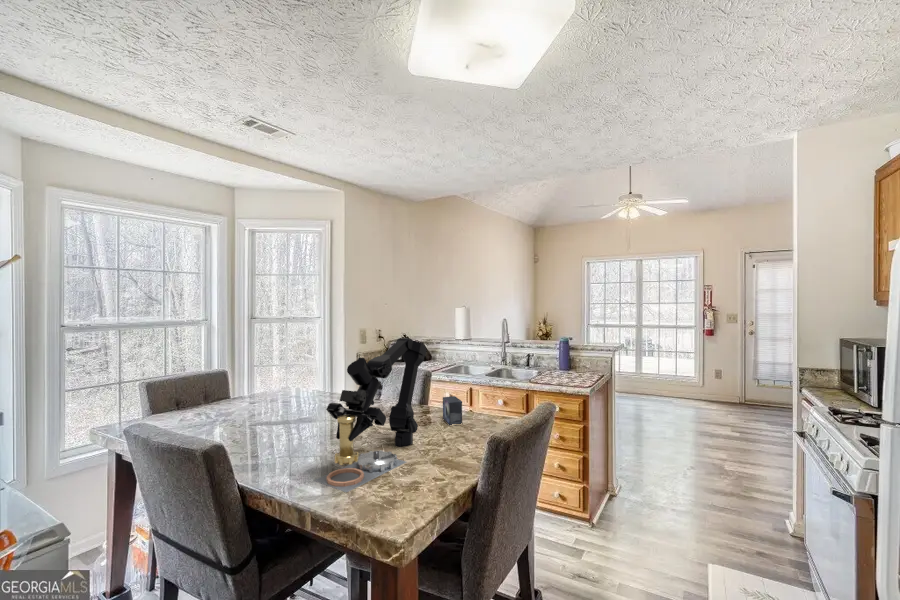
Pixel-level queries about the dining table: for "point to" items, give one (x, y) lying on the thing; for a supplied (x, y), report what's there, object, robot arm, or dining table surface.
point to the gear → (376, 461)
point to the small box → (452, 410)
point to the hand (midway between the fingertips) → (343, 439)
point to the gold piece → (346, 441)
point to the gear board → (350, 477)
